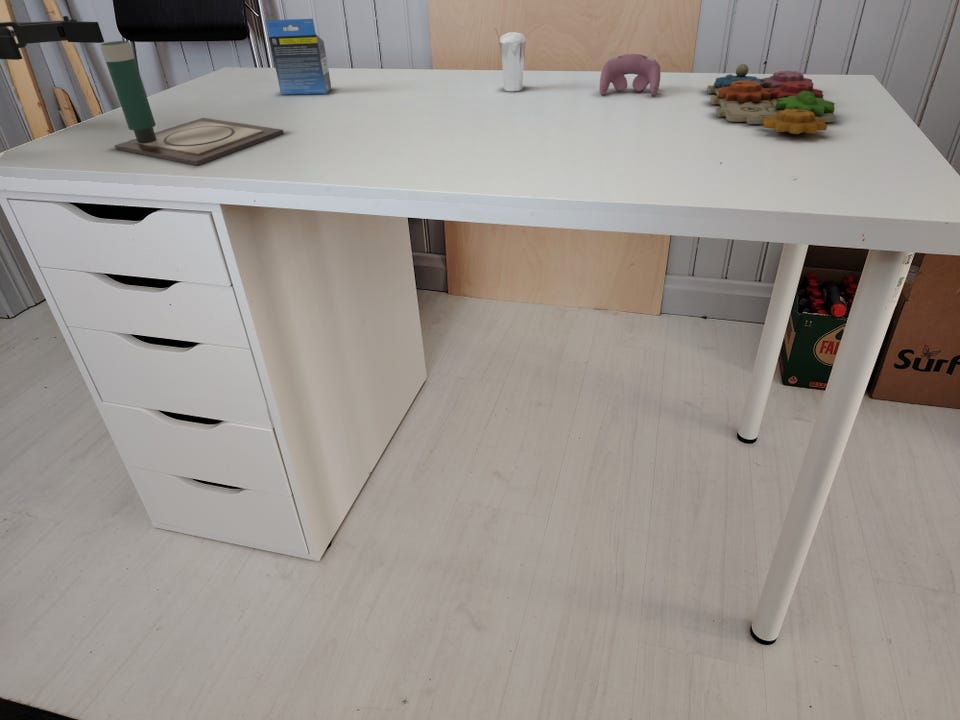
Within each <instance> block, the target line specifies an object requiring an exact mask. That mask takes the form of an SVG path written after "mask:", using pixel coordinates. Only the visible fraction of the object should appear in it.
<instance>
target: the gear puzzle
mask: <svg viewBox="0 0 960 720" xmlns="http://www.w3.org/2000/svg"><path fill="white" fill-rule="evenodd" d="M748 73H749V66H748V65H747V64H745V63H741V64H739V65H738V66H737V67H736V68H735V75H733V74H730V73H729V74H726V75H725V76H721V77H716V78H715V81H714V83H713V85H707V88H706V91H707V93H708V94H710V95H711V94H716V95H711V97H710V103H711V105H718V106H719V105H720V107H717V108H715V109H716V110H715V116H716V117H718V118H726V120H727V121H728V122H731V123H746V124H747V125H763V128H764V129H771V130H772V129H773V130H774V131H775V132H776V133H784V132H788V134H790V135H800V134H801V133H807V134H817V133H818V131H819V132H820V131H827V128H828V124H827V123H833V122H835V120H836V114H835V109H836V107H835V102H833V101H830V100H825V99H824V94H823V92H824V91H823V90H821V89H817V88H814V82H813V79H811V78H806V77H804V74H803V72H798V71H795V70H794V71H793V70H779V71H775V72H774V73H773V74H772V75H770V76H769V77H763V78H760V77H759V78H758V77H757V76H754V75H753V76H750V75H748Z"/></svg>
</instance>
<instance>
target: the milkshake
mask: <svg viewBox="0 0 960 720" xmlns="http://www.w3.org/2000/svg"><path fill="white" fill-rule="evenodd" d="M494 30H495V32H496V34H497V37H498V40H499V48H500V57H501V58H500V59H501V65H502V76H503V77H502V78H503V88H504V91H506V92H519V91H522V90H523V82H524V67H525V57H526V56H525V55H526V44H527V37H526V36H525V35H524V33H522V32H516V31H508V32H506V33H503V34H502V35H499V33H498V29H497V28H496V27H495V28H494Z"/></svg>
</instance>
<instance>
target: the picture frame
mask: <svg viewBox="0 0 960 720" xmlns="http://www.w3.org/2000/svg"><path fill="white" fill-rule="evenodd" d="M154 133H155V136H156V140H155V141H153V142H150V143H138V142H137V139H136V138H133V139H130V140H127V141H124V142H123V141H122V142H120V143H117V144H115V145H114V148H115V150H117V151H122V152H127V153H132V154H137V155H144V156H148V157H152V158H158V159H164V160H167V161H173V162H179V163H183V164H188V165H194V166H201V165H203V164H206V163H208V162H211V161H214V160H217V159H219V158H221V157H224V156H228V155H230V154H233V153H236V152H238V151H241V150H243V149H246V148H248V147H252V146H254V145H256V144H259V143H263V142H265V141H268V140H270V139H273V138H276V137H278V136H281V135H283V134H284V129H282V128H275V127H269V126H260V125H253V124H249V123H248V124H247V123H240V122H234V121H227V120H220V119H213V118H206V117H201V118H197V119H194V120H191V121H188V122H185V123H181V124H178V125H176V126H173V127H169V128H166V129H162V130H159V131H156V132H154Z"/></svg>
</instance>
